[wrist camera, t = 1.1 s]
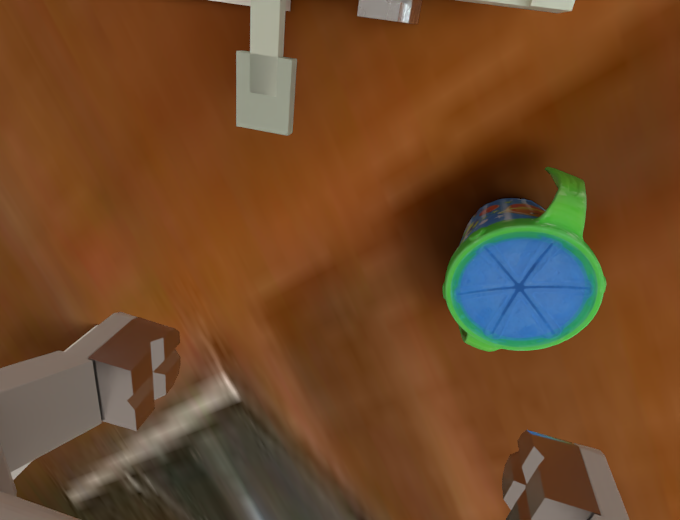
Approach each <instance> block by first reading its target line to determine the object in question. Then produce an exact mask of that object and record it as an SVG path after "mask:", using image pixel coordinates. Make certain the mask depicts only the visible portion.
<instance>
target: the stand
mask: <svg viewBox="0 0 680 520" xmlns="http://www.w3.org/2000/svg"><path fill="white" fill-rule="evenodd" d="M421 4H422V0H359V5H358V13H357V16H360V17H367V18H374V19H381V20H389V21H396V22H403V23H411V24H418V20H419V15H420V9H421Z"/></svg>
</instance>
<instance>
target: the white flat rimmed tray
mask: <svg viewBox="0 0 680 520" xmlns="http://www.w3.org/2000/svg"><path fill="white" fill-rule="evenodd" d="M210 1H218V2H225V3H232V4H239V5H246V6H251V0H210ZM290 6H291V0H286V10H285V11H290Z"/></svg>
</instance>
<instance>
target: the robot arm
mask: <svg viewBox="0 0 680 520" xmlns="http://www.w3.org/2000/svg"><path fill="white" fill-rule="evenodd" d="M179 343H180V335H179V331H178V330H176V329H174V328H171V327H168V326H165V325H162V324H159V323H155V322H152V321H149V320H146V319H143V318H140V317H135V316H132V315H129V314H126V313H123V312H117V313H114V314H112V315H111V316H110V317H108V318H107V319H106V320H105V321H103V322H102V323H101V324H100V325H98V326H97V327H96V328H95V329H93V330H92V331H91V332H90V333H88V334H87V335H86V336H85V337H83V338H82V339H81V340H80V341H78V342H77V343H76V344H75V345H73V346H72V347H71V348H70V349H68V350H67V351H66V352H63V351H56V352H52V353H49V354H46V355H42V356H39V357H36V358H33V359H29V360H26V361H23V362H19V363H16V364H13V365H10V366H6V367H3V368H0V520H80V519H77V518H74V517H71V516H69V515H66V514H63V513H60V512H57V511H55V510H52V509H49V508H46V507H43V506H41V505H38V504H35V503H32V502H29V501H27V500H24V499H21V498H18V497H16V493H17V491H16V488H15V485H14V482H13V479H12V476H11V472H13V471H14V470H16V469H18V468H20V467H22V466H24V465H25V464H27V463H29V462H31V461H33V460H35V459H36V458H38V457H40V456H42V455H44V454H46V453H48V452H49V451H51V450H53V449H55V448H57V447H59V446H60V445H62V444H64V443H66V442H68V441H70V440H72V439H73V438H75V437H77V436H79V435H81V434H83V433H84V432H86V431H88V430H90V429H92V428H94V427H95V426H97V425H99V424H101V423H102V421H104V422H107V423H111V424H114V425H118V426H121V427H125V428H128V429H132V430H135V431H137V430H138V429H139V427H140V426H141V425H142V424H143V423H144V421H145V420H146V419H147V418H148V416H149V415H150V414H151V413H152V411H153V410H154V409H155V405H154V400H155V399H157V398H160V397H162V396H164V395H166V394H167V393H168V391H169V390H170V389H171V388H172V386H173V385H174V382H175V380H176V378H177V376H178V374H179V369H180V356H179V354H178V353H177V351H176V350H175V348H176V347H177V345H178V344H179ZM518 447H519V451H518V452H515V453H513V454H511V455H510V456H509V458H508V460H507V462H506V464H505V468H504V473H503V479H502V490H503V499H504V501H505V502H506V503H507V505H508V506H509V508H510V509H511V512H510V513H509V515H508V517H507V518H506V520H629V517H628V515H627V512H626V509H625V507H624V504H623V502H622V499H621V497H620V494H619V491H618V489H617V486H616V484H615V481H614V479H613V476H612V473H611V471H610V468H609V466H608V463H607V460H606V458H605V456H604V454H603V453H602V452H601V451H600V450H598V449H594V448H591V447H587V446H583V445H580V444H576V443H574V444H573V443H572V442H568V441H565V440H561V439H557V438H554V437H550V436H547V435H543V434H539V433H536V432H532V431H529V430H526V431H524V432H523V433H522V434H521V436H520V438H519V439H518Z"/></svg>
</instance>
